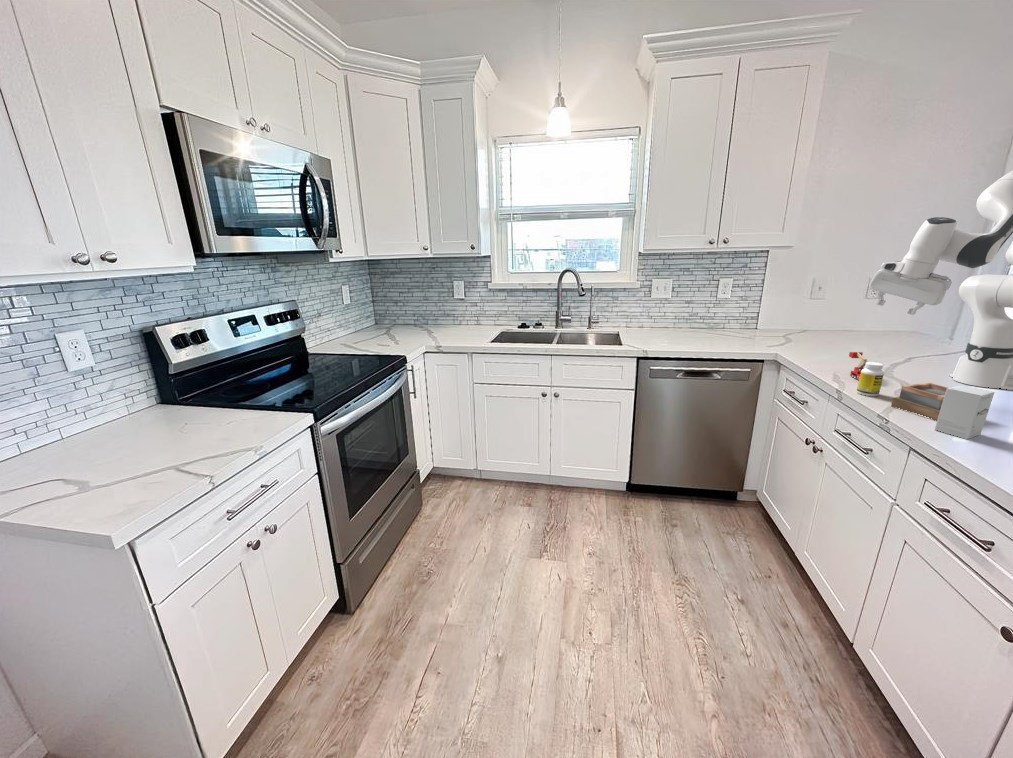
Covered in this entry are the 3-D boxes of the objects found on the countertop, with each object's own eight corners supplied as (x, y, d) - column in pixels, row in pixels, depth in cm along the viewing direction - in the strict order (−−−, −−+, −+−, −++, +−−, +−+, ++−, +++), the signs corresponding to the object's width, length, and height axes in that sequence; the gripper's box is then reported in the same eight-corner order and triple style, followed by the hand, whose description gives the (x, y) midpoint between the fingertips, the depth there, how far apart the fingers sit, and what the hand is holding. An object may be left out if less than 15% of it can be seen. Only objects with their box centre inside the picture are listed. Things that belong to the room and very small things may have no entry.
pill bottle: (873, 398, 149) (880, 366, 146) (852, 393, 155) (859, 362, 151) (882, 394, 152) (889, 364, 149) (861, 390, 157) (868, 360, 154)
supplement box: (968, 440, 117) (982, 395, 114) (933, 430, 124) (945, 387, 120) (982, 435, 120) (996, 391, 116) (947, 425, 127) (959, 383, 123)
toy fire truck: (863, 383, 164) (869, 359, 161) (844, 373, 177) (849, 350, 174) (873, 384, 164) (879, 359, 161) (853, 374, 176) (859, 350, 174)
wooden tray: (922, 402, 144) (928, 381, 142) (970, 416, 132) (977, 394, 130) (891, 406, 142) (896, 385, 140) (936, 421, 130) (943, 398, 128)
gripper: (959, 277, 138) (935, 319, 144) (887, 261, 154) (868, 299, 160) (949, 278, 135) (926, 320, 141) (877, 262, 151) (859, 300, 157)
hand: (895, 309), depth 151 cm, fingers open, 8 cm apart
